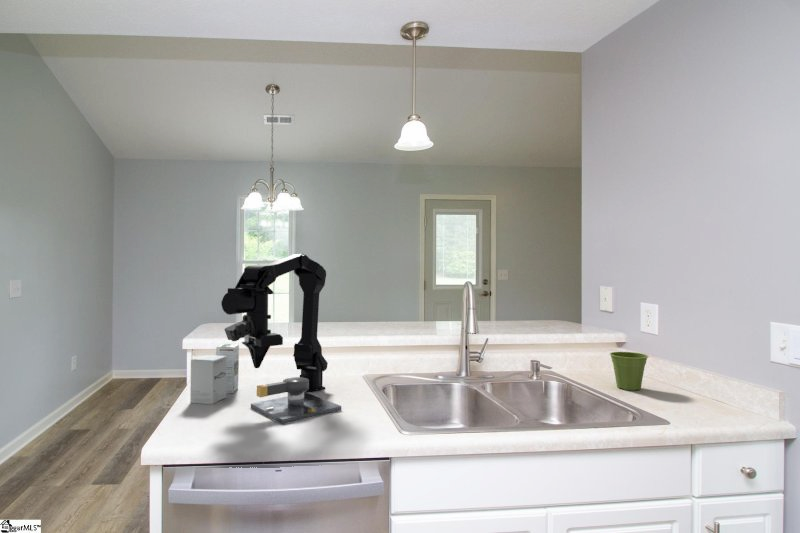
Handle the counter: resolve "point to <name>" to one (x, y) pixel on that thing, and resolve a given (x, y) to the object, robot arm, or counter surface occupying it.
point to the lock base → (295, 407)
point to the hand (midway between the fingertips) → (256, 367)
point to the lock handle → (284, 387)
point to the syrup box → (230, 365)
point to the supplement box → (208, 379)
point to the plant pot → (628, 369)
